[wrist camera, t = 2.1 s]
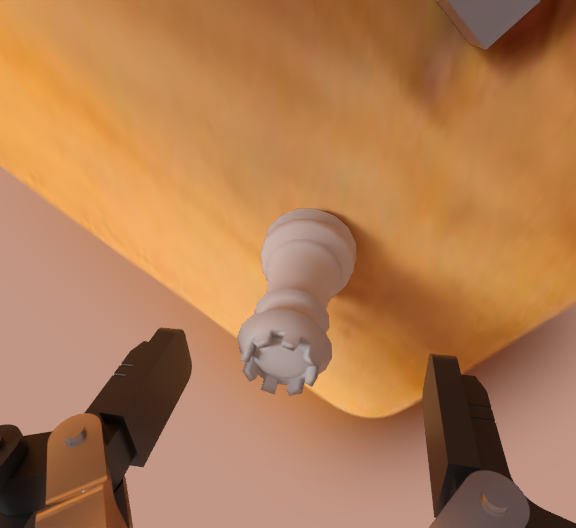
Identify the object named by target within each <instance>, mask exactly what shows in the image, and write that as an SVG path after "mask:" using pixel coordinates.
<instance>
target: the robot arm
mask: <svg viewBox="0 0 576 528" xmlns="http://www.w3.org/2000/svg"><path fill="white" fill-rule="evenodd" d="M191 370H192V364H191V358H190V353H189V349H188V345H187V341H186V337H185V333H184V331H183V330H181V329H170V328H159V329H158V330H157V331H156V333H155V334H154V336H153V337H152V338H151V340H150V341H149V342H145V341H144V342H142V343H141V344H140V345H138V346H137V347H136V348H134V349H133V350H131V351H130V353H129V354H128V355H127V357H126V358H125V360H124V361H123V362H122V365H121V366H119V367H118V369H117V370H116V371H115V373H114V376H112V377H111V378H110V380H109V381H108V382H107V384H106V385H105V386H104V388H103V389H102V390H101V392H100V393H99V394H98V396H97V397H96V398H95V400H94V401H93V403H92V404H91V405H90V407H89V408H88V409H87V410H86V412H85V413H83V414H78V415H75V416H72V417H70V418H68V419H66V420H65V421H63V422H62V423H60V424H59V425H58V426H57V427H56V428H55V429H54V430H53V431H52V432H46V433H40V434H33V435H27V436H23V435H22V433H21V431H20V430H19V428H18V427H16V426H14V425H0V528H133V524H132V517H131V510H130V504H129V497H128V491H127V484H126V478H125V476H124V475H125V473H126V471H127V469H128V468H129V466H130V465H132V466H139V467H144V465H145V463H146V461H147V459H148V457H149V455H150V453H151V451H152V450H153V447H154V446H155V444H156V442H157V440H158V438H159V436H160V434H161V432H162V430H163V429H164V426H165V425H166V423H167V421H168V419H169V417H170V415H171V413H172V411H173V409H174V408H175V406H176V404H177V402H178V400H179V398H180V396H181V394H182V392H183V390H184V388H185V387H186V384H187V383H188V381H189V378H190V375H191ZM423 415H424V425H425V434H426V443H427V453H428V462H429V471H430V481H431V490H432V499H433V509H434V517H435V518H436V519H435V520H434V522H433V523H432V524H431V526H430V527H429V528H576V523H573V522H571V521H569V520H567V519H564V518H562V517H560V516H558V515H555V514H553V513H551V512H549V511H546V510H544V509H542V508H541V507H539V506H537V505H536V504H534V503H533V502H531V501H530V500H529V499H528V498H527V497H526V496H525V495H524V494H523V492H522V491H521V490H520V489H519V487H518V486H517V485H516V484H515V483H514V482H513V480H512V478H511V475H510V473H509V469H508V466H507V462H506V458H505V455H504V452H503V448H502V444H501V441H500V437H499V433H498V430H497V426H496V423H495V419H494V416H493V412H492V410H491V405H490V401H489V398H488V394H487V391H486V390H485V388H484V387H483V386H482V384H481V383H480V382H479V381H478V380H477V378H476V377H475V376H469V375H461V373H460V368H459V364H458V360H457V357H456V356H447V355H436V354H430V355H429V359H428V365H427V371H426V376H425V382H424V388H423Z"/></svg>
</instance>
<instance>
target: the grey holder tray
mask: <svg viewBox="0 0 576 528" xmlns="http://www.w3.org/2000/svg"><path fill="white" fill-rule="evenodd" d="M540 1H541V0H436V2H437V3H438V4H439V5H440V7H441V8H442V9H443V11H444V12H445V13H446V14H447V16H448V17H449V18H450V20H451V21H452V22H453V23H454V25H455V26H456V27H457V29H458V30H459V31H460V32H461V34H462V35H463V36H464V38H465V39H466V40H467V41H468V43H469V44H471V45H474V46H477V47H479V48H482V49H485V50H486V49H488V48H489V47H490V46H491V45H492V44H493V43H494V42H495V41H496V40H498V39H499V38H500V37H501V36H502V35H503V34H504V33H505V32H506V31H508V30H509V29H510V28H511V27H512V26H513V25H514V24H515V23H517V22H518V21H519V20H520V19H521V18H522V17H523V16H524V15H525V14H527V13H528V12H529V11H530V10H531V9H532V8H533V7H534V6H535V5H537V4H538V3H539V2H540Z"/></svg>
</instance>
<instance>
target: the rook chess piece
mask: <svg viewBox="0 0 576 528" xmlns="http://www.w3.org/2000/svg"><path fill="white" fill-rule="evenodd" d="M261 260H262V268H263V273H264V274H265V276H266V280H267V282H268V285H267V292H266V294H265V295H264V296H263V297H262V298H261V299H260V300H259V301H258V303H257V306H256V309H255V311H254V312H255V314H254V315H252V316H251V317H250V318H249V319H248V320H247V321H245V322H244V323H243V324H242V326H241V328H240V331H239V334H238V337H237V339H238V344H239V349H240V352H241V354H242V357H241V361H245V362H246V363H245V366H244V368H243V373H244V374H245V376H246V377H247V378H248V380H249V381H252V380H254V379H256V377H257V374H258V375H259V376H260V377H262V378H263V379H264V381H263V384H262V388H261V390H264V391H266V392H269V393H272V394H275V391H276V387H277V384H283V385H288V386H287V392H288V394H289V396H290V395H295V394H300V393H302V391H303V386H304V382H305V383H306V384H308V385H310V386H313V384H314V382H315V381H316V379H317V377H318V374H320V373H321V372H323V371H324V370H325V369H326V367H327V366H328V364H329V362H330V360H331V358H332V346H331V342H330V340H329V338H328V337H327V335H326V332H327V330H328V329H329V315H328V313H327V311H326V309H327V306H328V303H329V301H330V299H331V298H332V297H333V296H335V295H336V294H337V293H338V292H340V291H341V290H342V289H343V288H344V287H345V286H346V284H347V283H348V281H349V279H350V277H351V275H352V273H353V271H354V264H355V262H356V242H355V240H354V238H353V236H352V234H351V232H350V229H349V228H348V227H347V226H346V225H345V224H344V223H343V222H341V221H340V220H339V219H338V218H337V217H336V216H334V215H332V214H329V213H326V212H324V211H321V210H319V209H295V210H293V211H290V212H288V213H285V214H283V215H280V216H279V217H278V218H277V219H276V220H275V221H274V222H273V223H272V224H271V226H270V227H269V228H268V231H267V234H266V237H265V240H264V244H263V247H262V250H261Z"/></svg>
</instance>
